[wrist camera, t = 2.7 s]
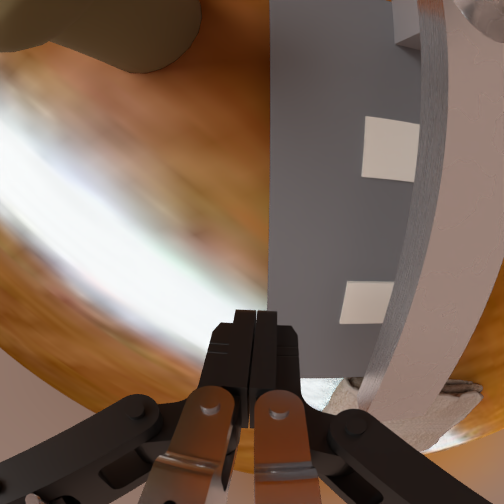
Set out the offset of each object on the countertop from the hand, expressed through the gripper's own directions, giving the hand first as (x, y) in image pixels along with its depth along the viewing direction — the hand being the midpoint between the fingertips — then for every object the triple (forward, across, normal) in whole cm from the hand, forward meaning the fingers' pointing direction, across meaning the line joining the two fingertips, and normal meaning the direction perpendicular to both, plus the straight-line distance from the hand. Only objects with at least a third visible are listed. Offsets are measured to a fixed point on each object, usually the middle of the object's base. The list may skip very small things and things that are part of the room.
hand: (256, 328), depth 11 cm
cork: (+7, +6, -13) cm, 16 cm away
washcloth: (+8, -14, +18) cm, 24 cm away
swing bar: (+2, -8, -4) cm, 9 cm away
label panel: (+7, -8, -2) cm, 11 cm away
